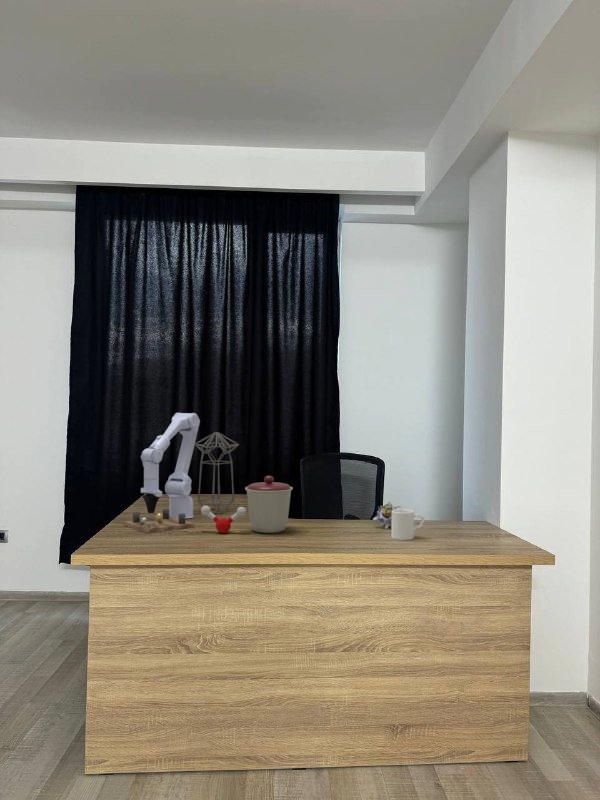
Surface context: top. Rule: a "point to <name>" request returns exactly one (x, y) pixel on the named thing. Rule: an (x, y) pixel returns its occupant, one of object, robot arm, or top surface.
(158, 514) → the metal crank handle
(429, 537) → the top surface
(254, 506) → the canister
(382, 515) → the passion flower
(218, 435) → the geometric lantern
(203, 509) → the molecular model
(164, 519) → the wooden board with pegs
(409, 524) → the mug
